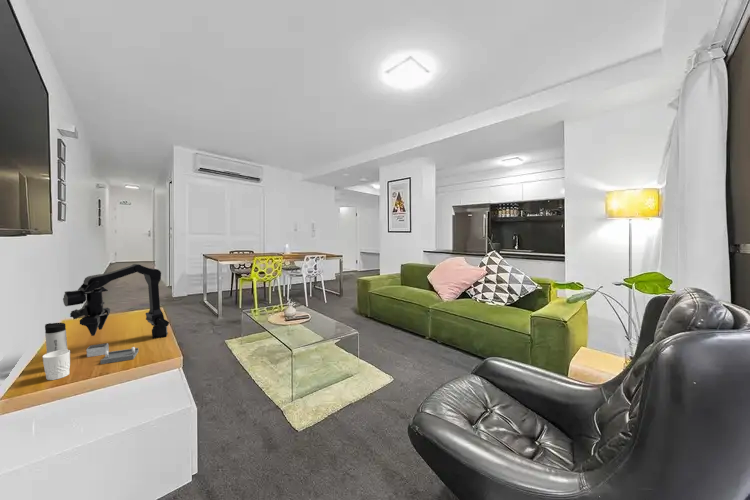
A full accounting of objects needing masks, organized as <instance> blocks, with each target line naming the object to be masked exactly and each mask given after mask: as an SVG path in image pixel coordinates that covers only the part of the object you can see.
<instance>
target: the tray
mask: <svg viewBox="0 0 750 500" xmlns="http://www.w3.org/2000/svg"><path fill="white" fill-rule="evenodd" d="M138 353H139V347H135V346H132V347H131V348H127V349H126V348H125V349H120V350H112V351H105V355H104V357H103V358H101V359H100V365H105V364H111V363H117V362H118V363H119V362H125V361H131V360H134V359H135V358H136V356H137V355H138Z"/></svg>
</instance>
